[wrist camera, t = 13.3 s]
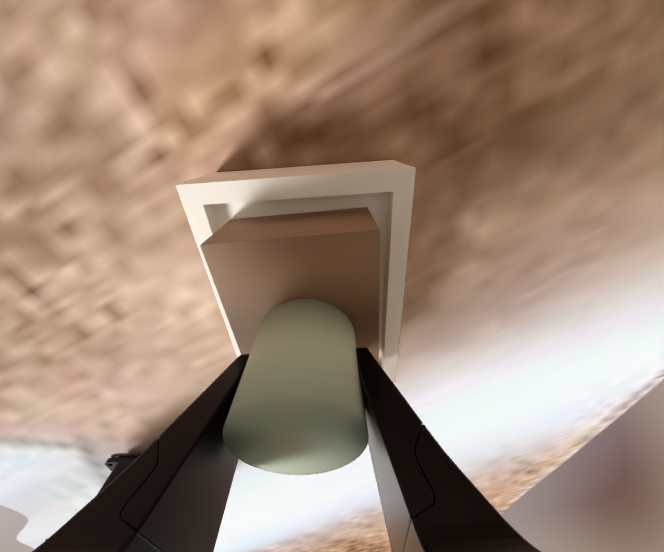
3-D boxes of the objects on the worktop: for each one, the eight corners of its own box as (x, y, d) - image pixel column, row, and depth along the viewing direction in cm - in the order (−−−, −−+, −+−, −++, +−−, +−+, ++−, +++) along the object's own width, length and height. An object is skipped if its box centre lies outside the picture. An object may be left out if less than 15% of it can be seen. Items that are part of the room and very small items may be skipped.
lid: (369, 354, 15) (378, 400, 12) (272, 361, 15) (261, 407, 13) (367, 206, 11) (380, 229, 8) (230, 219, 11) (199, 245, 8)
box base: (383, 337, 18) (395, 381, 15) (262, 344, 19) (248, 389, 15) (392, 159, 12) (416, 167, 9) (215, 172, 13) (175, 184, 9)
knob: (355, 368, 11) (368, 471, 8) (269, 373, 11) (243, 477, 8) (353, 295, 9) (369, 390, 6) (248, 302, 9) (202, 399, 6)
